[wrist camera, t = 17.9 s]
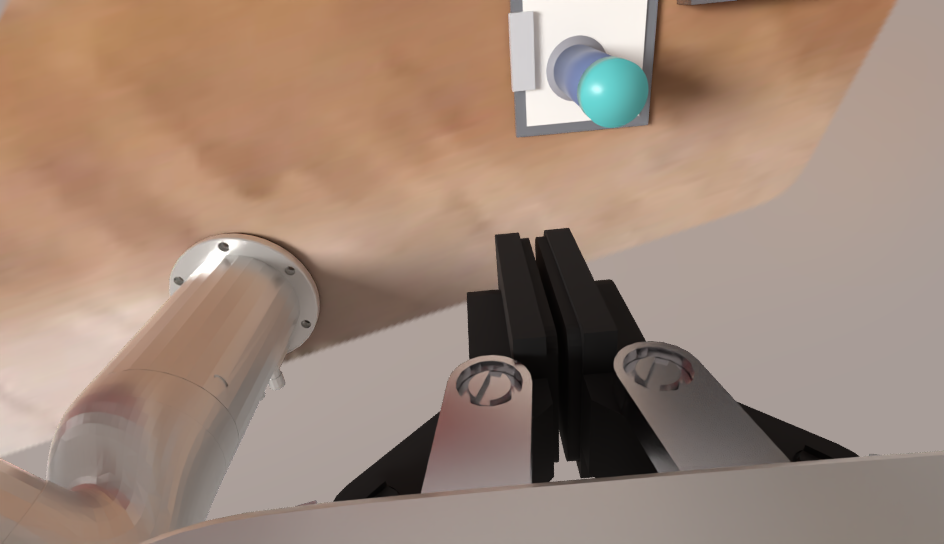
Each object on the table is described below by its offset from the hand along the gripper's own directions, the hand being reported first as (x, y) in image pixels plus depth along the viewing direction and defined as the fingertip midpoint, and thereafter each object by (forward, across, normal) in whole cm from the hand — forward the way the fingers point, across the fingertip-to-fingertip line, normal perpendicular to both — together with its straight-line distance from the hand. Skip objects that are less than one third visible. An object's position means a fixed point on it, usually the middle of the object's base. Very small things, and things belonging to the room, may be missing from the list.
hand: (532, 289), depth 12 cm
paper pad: (+29, -8, -2) cm, 30 cm away
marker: (+28, -7, 0) cm, 29 cm away
